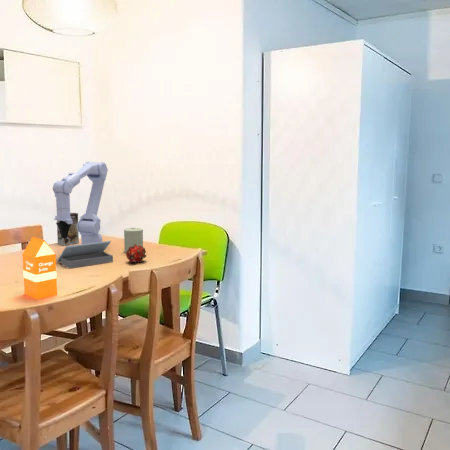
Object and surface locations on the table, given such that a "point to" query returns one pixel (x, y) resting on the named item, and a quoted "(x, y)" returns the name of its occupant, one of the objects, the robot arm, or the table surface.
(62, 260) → the grey hinged box
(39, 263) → the orange juice
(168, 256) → the table surface
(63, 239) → the coffee box
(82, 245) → the lid
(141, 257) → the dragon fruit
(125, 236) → the can
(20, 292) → the table surface
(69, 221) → the robot arm
